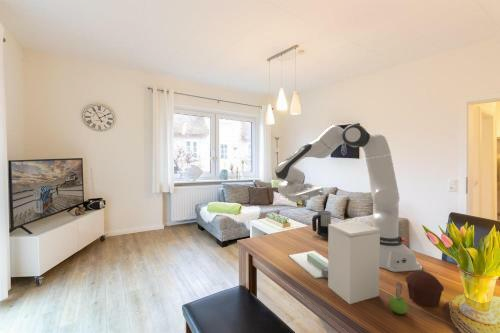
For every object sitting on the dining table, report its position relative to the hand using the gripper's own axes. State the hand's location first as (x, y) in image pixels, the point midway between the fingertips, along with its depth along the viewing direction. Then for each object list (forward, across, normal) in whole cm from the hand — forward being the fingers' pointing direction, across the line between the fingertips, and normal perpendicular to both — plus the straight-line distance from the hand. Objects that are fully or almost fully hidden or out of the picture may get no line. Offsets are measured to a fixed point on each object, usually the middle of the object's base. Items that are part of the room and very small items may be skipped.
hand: (316, 196), depth 117 cm
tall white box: (+26, -10, +33) cm, 43 cm away
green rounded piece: (+42, -7, +33) cm, 54 cm away
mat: (+1, -7, +33) cm, 34 cm away
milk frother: (-25, +27, +38) cm, 53 cm away
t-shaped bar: (+6, -8, +32) cm, 34 cm away
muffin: (+42, +8, +35) cm, 56 cm away
